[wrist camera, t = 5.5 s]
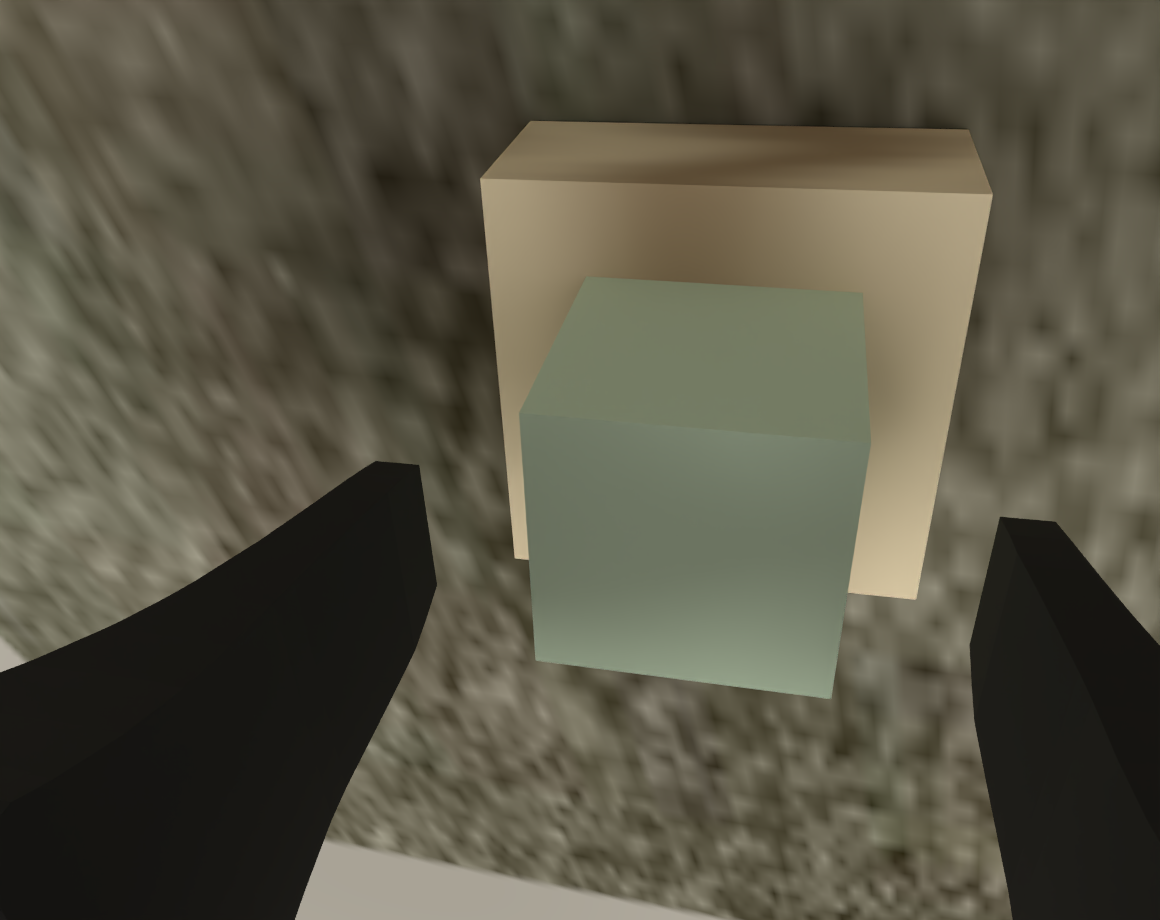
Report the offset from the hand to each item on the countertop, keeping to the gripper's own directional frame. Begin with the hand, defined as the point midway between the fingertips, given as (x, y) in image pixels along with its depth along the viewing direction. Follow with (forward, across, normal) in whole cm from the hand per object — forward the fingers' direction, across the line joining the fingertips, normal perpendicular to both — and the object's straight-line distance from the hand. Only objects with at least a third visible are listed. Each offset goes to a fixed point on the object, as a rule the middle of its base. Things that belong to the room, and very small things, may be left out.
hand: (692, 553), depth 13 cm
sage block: (+4, 0, 0) cm, 4 cm away
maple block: (+7, 0, 0) cm, 7 cm away
